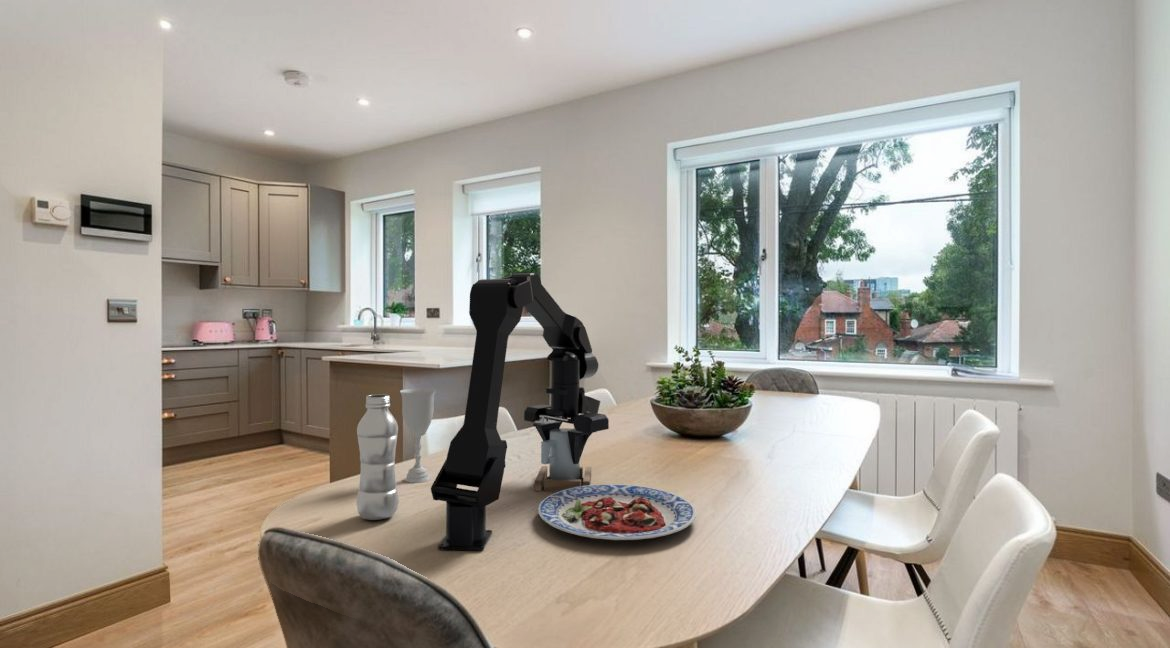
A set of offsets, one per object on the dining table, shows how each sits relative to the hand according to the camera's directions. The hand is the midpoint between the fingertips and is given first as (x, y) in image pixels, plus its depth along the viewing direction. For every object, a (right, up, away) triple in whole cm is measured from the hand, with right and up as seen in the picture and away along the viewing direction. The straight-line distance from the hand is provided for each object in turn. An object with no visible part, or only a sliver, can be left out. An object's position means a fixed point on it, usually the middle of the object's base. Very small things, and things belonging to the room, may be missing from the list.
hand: (564, 460), depth 112 cm
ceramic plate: (+9, -5, -19) cm, 22 cm away
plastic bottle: (-30, -5, -20) cm, 36 cm away
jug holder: (0, -5, 0) cm, 4 cm away
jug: (0, -3, 0) cm, 3 cm away
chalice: (-30, -5, +2) cm, 30 cm away
